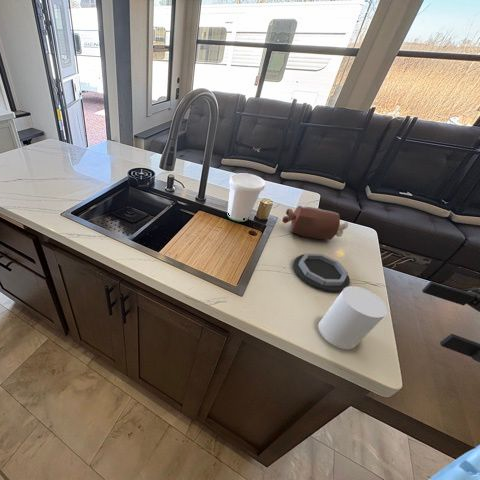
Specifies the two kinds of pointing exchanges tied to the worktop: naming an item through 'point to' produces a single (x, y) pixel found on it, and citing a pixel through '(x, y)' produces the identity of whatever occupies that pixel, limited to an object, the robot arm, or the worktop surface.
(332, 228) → the meat
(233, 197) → the cup
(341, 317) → the white cylinder
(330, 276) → the coaster
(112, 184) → the worktop surface
